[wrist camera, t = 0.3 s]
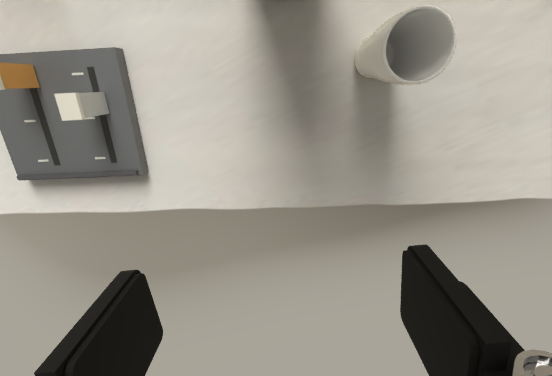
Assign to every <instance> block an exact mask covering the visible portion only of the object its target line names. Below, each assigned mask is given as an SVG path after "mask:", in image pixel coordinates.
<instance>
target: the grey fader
mask: <svg viewBox="0 0 552 376" xmlns="http://www.w3.org/2000/svg"><path fill="white" fill-rule="evenodd" d="M54 95H55V98H56V102H57V105H58V108H59V112H60V115H61V118H62V121H67V120H83V119H85V118H89V117H94V116H99V115H104V114H109V110H108V106H107V101H106V97H105V93H104V92H89V93H60V94H54Z"/></svg>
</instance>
